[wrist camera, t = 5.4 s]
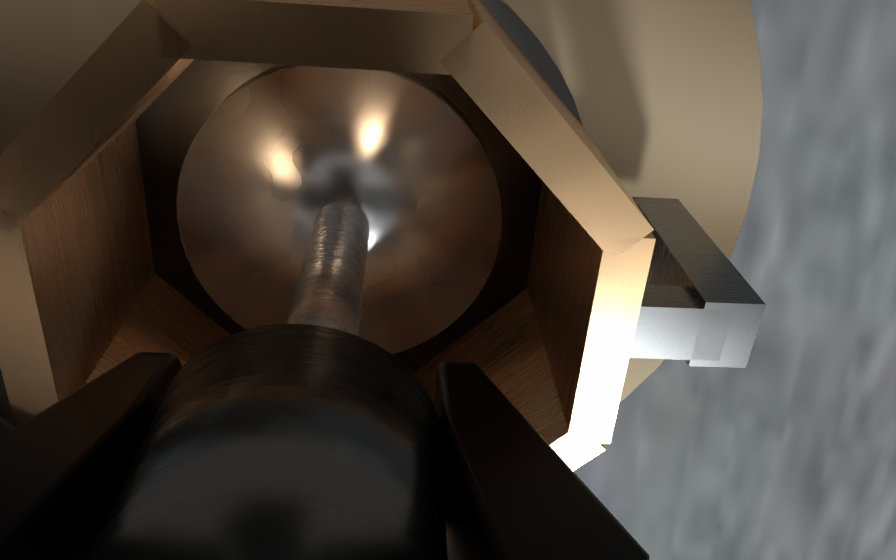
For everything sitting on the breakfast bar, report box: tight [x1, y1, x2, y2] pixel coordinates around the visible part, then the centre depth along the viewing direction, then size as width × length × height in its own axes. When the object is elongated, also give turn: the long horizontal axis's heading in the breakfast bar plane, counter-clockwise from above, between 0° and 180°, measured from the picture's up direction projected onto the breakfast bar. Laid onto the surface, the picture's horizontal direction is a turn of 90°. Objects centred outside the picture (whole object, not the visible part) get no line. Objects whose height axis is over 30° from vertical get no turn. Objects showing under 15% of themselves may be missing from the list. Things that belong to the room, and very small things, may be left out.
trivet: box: [0, 0, 763, 403], centre depth 14 cm, size 15×15×1 cm
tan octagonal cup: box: [0, 0, 766, 471], centre depth 11 cm, size 8×10×5 cm
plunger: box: [87, 65, 502, 560], centre depth 9 cm, size 5×5×8 cm
